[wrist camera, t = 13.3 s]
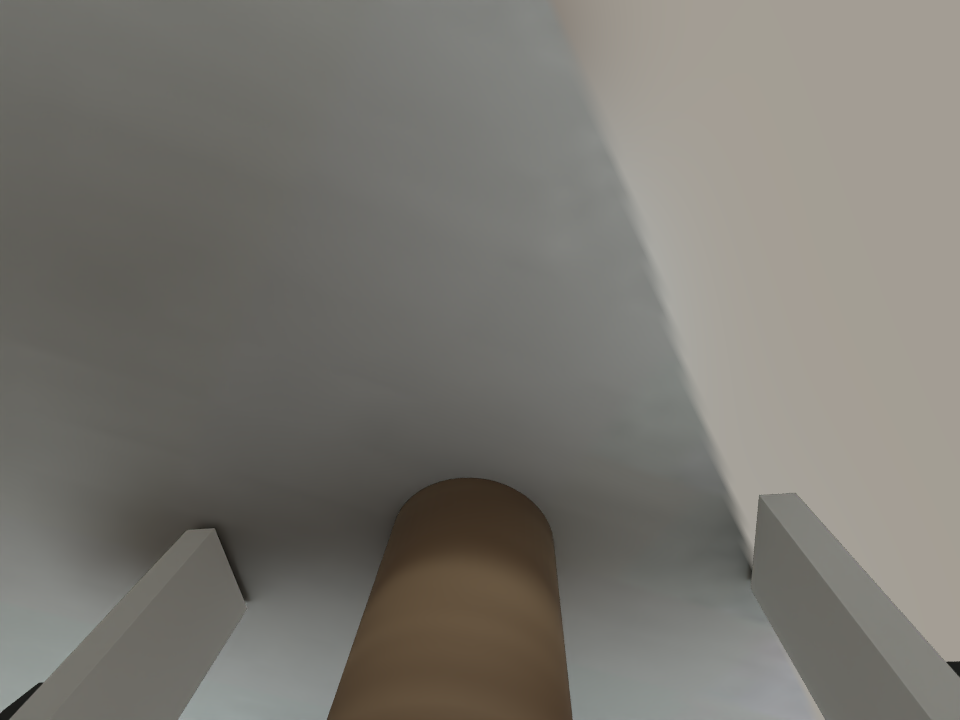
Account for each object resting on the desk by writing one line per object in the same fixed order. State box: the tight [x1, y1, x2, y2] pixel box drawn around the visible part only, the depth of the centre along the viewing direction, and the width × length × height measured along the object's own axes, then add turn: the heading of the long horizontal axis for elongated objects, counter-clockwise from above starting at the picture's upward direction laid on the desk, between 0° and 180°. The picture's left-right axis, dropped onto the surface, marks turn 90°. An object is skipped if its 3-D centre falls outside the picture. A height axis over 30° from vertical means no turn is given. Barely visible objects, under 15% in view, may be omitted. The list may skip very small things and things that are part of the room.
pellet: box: [327, 478, 573, 720], centre depth 9 cm, size 4×4×5 cm
